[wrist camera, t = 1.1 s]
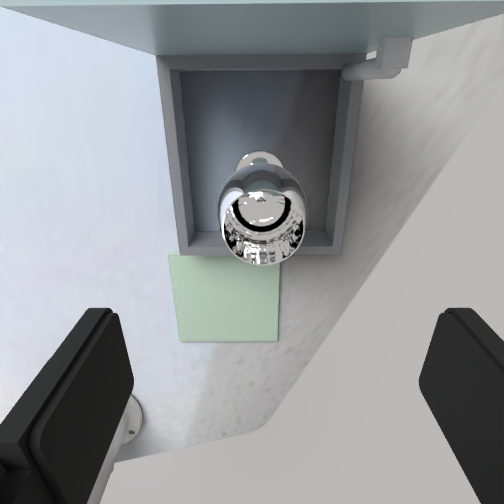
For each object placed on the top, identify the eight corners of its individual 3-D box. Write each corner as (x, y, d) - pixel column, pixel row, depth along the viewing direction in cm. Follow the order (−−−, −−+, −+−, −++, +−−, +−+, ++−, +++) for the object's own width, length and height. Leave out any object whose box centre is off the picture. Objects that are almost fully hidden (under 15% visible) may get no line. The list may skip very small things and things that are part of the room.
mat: (276, 338, 37) (277, 341, 37) (180, 338, 37) (179, 341, 37) (279, 252, 32) (280, 254, 32) (168, 252, 32) (167, 254, 32)
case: (332, 238, 32) (418, 404, 15) (187, 238, 32) (114, 404, 15) (354, 38, 24) (569, -64, 8) (165, 40, 24) (-18, -56, 8)
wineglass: (216, 191, 30) (196, 250, 19) (244, 130, 27) (238, 158, 16) (273, 217, 31) (284, 287, 20) (304, 161, 28) (335, 207, 18)
